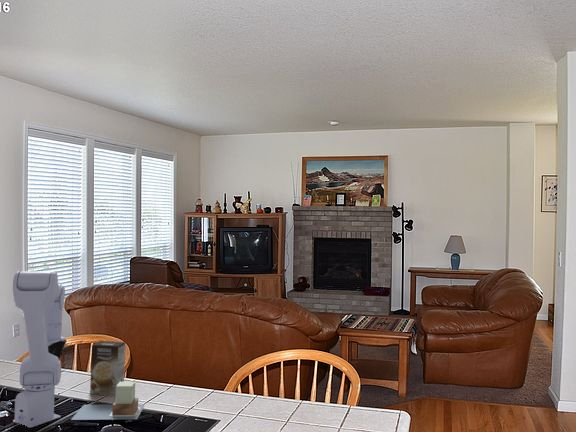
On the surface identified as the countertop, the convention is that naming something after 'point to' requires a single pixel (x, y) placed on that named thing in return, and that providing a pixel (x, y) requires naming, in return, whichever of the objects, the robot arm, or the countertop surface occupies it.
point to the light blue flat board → (103, 413)
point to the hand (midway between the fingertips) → (50, 367)
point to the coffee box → (107, 367)
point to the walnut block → (125, 408)
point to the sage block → (125, 392)
